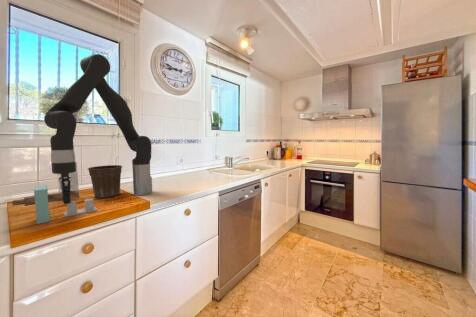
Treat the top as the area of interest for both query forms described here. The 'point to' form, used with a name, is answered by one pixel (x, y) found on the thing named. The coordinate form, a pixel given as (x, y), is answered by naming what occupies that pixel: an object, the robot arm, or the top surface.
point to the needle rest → (88, 208)
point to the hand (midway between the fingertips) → (66, 202)
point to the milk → (73, 183)
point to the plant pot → (105, 180)
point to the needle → (51, 198)
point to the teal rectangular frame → (42, 204)
